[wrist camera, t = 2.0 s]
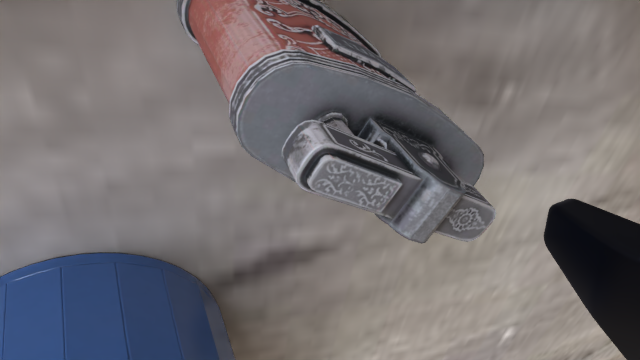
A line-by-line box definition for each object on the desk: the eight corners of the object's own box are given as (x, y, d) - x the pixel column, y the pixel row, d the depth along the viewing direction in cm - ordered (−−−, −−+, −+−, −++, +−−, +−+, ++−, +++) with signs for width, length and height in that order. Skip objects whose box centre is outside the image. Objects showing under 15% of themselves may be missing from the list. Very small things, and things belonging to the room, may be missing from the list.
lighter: (391, 41, 22) (566, 198, 15) (342, 113, 23) (483, 290, 16) (206, -66, 17) (331, 87, 10) (158, 31, 18) (238, 230, 11)
